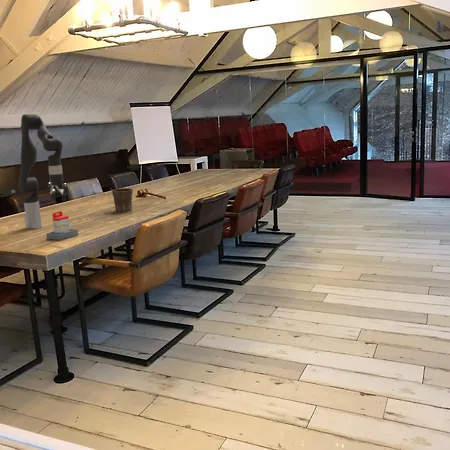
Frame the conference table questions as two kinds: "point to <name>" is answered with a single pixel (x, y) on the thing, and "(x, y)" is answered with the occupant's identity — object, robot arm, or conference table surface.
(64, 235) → the tray
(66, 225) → the ink box
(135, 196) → the conference table surface
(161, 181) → the conference table surface
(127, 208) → the plant pot
